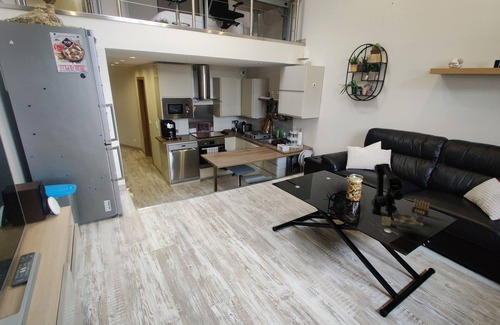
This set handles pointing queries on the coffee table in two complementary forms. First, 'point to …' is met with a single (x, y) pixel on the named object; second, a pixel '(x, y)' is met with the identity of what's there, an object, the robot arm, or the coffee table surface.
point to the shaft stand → (408, 218)
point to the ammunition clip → (420, 208)
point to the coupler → (386, 221)
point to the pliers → (381, 227)
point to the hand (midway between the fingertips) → (387, 214)
